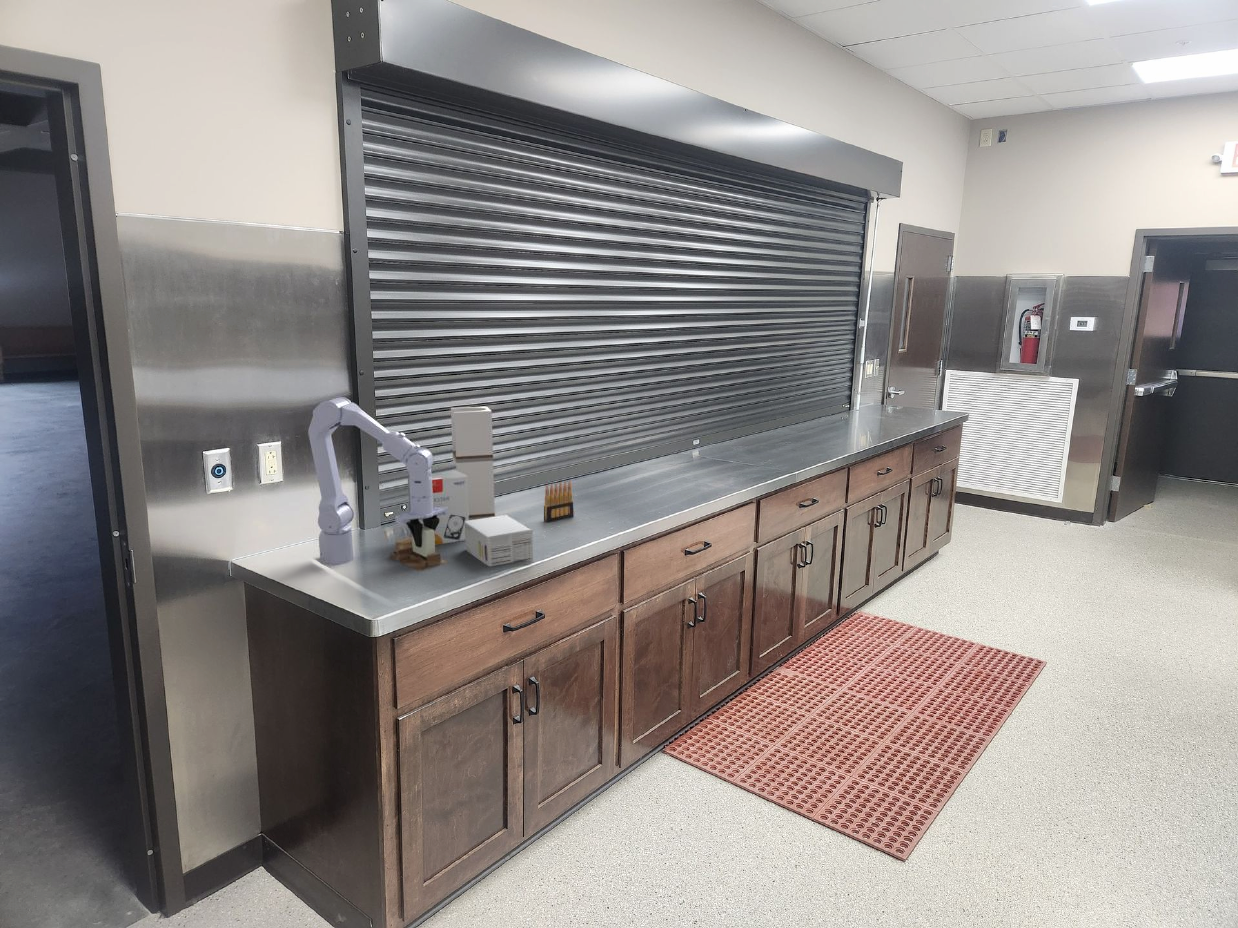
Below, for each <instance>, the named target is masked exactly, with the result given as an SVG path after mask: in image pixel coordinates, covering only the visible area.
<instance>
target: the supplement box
mask: <svg viewBox="0 0 1238 928" xmlns="http://www.w3.org/2000/svg"><path fill="white" fill-rule="evenodd" d="M464 523H465V540H464V541H465V544H464V545H465V551H467V552H468V553H469V554H471V556H473V557H475V558H476V559H478V560H479V561H480V562H482V563H483V564H485V565H486V566H487V567H493V566H494V567H495V566H500V565H505V564H510V563H517V562H521V561H522V562H523V561H526V562H528V563H530V562H533V561H534V546H533V545H534V540H533V539H534V537H533V535H534V534H533V532H534V531H533V529H532V528H530V527H528V526H526V525H524V524H523V523H522V522H519V521H518V520H516V519H514V518H513V517H511V516H509V515H508V514H501V515H497V516H496V515H495V517H489V518H482V519H476V520H469V521H465V522H464Z"/></svg>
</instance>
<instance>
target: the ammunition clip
mask: <svg viewBox="0 0 1238 928" xmlns="http://www.w3.org/2000/svg"><path fill="white" fill-rule="evenodd" d="M572 491H573V490H572V483H571V481H570V480H568V482H566V481H564V483H563V485H562V482H559V483H558V484H557V482H556V483H555V484H554V486H553V483H551V484H550V488H549V485H548V484H546V486H545V491H544V492H545V495H544V505H543V522H545V523H552V522H557V521H561V520H566V519H570V518H574V517H575V515H574V514H575V512H574V502H573V492H572Z"/></svg>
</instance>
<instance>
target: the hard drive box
mask: <svg viewBox="0 0 1238 928" xmlns="http://www.w3.org/2000/svg"><path fill="white" fill-rule="evenodd" d="M431 476H432V492H433V508H436V507H447V508H448V515H440V516H437V518H439V519H440V521H439V524H438V526H437V528H436V530H435V546H437V545H438V546H439V545H444V544H450V543H456V542H461V541H462V542H463V541H465V523H464V522H465V521H469V511H468V476H467V475H465V474H463V473H461V472H459V471H458V472H457V471H447V472H438V473H431ZM409 479H410V476H407V488H408V489H407V490H408V492H407V493H408V512H410V511H411V502H410V481H409ZM419 521H420V523H422V524H423V520H422V519H421V520H419ZM423 526H424V524H423ZM409 535H410V536H409V538H410V537H412V533H411V531H410V530H409Z"/></svg>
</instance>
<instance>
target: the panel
mask: <svg viewBox="0 0 1238 928" xmlns="http://www.w3.org/2000/svg"><path fill="white" fill-rule="evenodd" d="M412 546H413V551H414V552H416V553H418V554H420V555H422V556H425V557H427V556H428V555H432V554H436V545H435V533H434V530H432V529H430V528H428V527H425V526H423V528H422V547H417V546H416V545H415V541H414V538H413V536H412Z"/></svg>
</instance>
